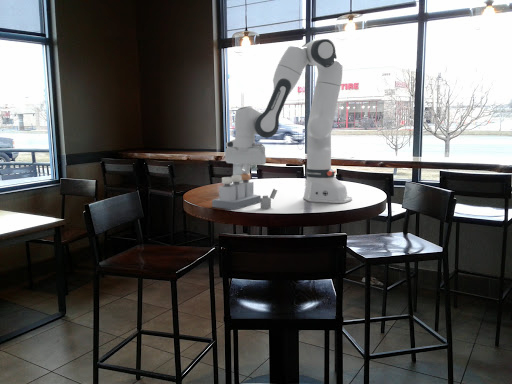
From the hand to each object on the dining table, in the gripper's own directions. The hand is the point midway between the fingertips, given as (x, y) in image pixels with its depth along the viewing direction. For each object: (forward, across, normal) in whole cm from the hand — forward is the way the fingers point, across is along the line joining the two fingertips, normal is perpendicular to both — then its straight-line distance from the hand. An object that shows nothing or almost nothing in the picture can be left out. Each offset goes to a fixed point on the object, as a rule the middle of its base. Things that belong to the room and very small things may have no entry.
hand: (245, 174), depth 201 cm
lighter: (+13, -16, +6) cm, 22 cm away
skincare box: (+13, +20, -25) cm, 35 cm away
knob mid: (+9, 0, +7) cm, 12 cm away
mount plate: (+13, 0, +7) cm, 15 cm away
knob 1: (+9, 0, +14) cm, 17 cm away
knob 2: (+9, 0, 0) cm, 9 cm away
